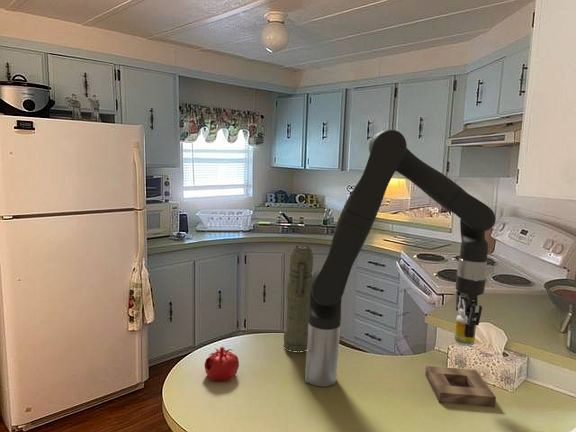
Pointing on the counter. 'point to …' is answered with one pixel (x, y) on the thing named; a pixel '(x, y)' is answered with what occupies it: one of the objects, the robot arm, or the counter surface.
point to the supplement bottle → (462, 330)
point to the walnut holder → (459, 386)
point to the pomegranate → (221, 365)
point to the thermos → (298, 299)
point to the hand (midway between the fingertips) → (464, 332)
